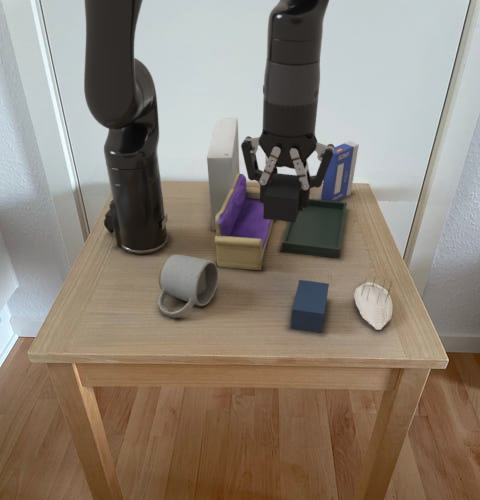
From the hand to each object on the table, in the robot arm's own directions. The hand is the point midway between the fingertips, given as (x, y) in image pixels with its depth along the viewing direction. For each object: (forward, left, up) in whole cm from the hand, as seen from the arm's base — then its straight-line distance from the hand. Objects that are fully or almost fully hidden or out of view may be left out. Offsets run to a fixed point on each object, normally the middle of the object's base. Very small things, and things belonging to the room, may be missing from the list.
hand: (283, 206), depth 78 cm
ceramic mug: (-15, -9, -16) cm, 23 cm away
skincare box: (-16, +25, -16) cm, 34 cm away
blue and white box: (+7, +35, -16) cm, 39 cm away
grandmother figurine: (-7, +27, -16) cm, 32 cm away
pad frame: (+4, +20, -15) cm, 26 cm away
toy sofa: (-8, +12, -16) cm, 22 cm away
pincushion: (+17, -4, -16) cm, 23 cm away
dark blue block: (+6, -8, -15) cm, 18 cm away
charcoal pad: (0, 0, 0) cm, 0 cm away
